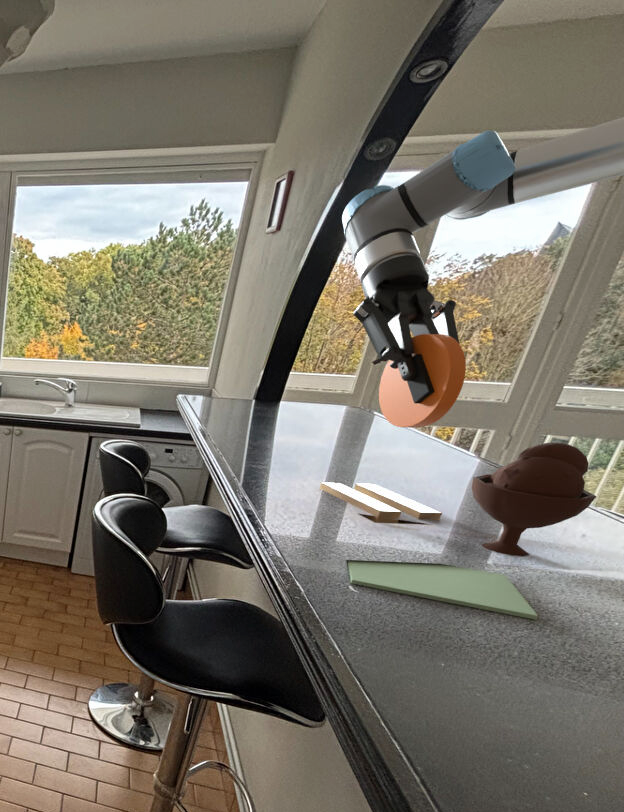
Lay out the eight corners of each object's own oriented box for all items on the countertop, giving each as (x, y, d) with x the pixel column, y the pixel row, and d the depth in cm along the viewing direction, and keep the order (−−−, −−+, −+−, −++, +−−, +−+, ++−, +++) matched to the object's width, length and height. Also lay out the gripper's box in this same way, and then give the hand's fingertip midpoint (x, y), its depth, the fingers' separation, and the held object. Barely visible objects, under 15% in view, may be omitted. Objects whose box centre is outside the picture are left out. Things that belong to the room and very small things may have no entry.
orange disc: (381, 418, 93) (409, 331, 88) (444, 436, 81) (480, 337, 76) (368, 417, 93) (395, 331, 88) (428, 436, 81) (464, 337, 76)
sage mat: (503, 578, 71) (505, 574, 71) (536, 620, 62) (538, 616, 61) (343, 550, 79) (344, 546, 79) (351, 583, 69) (352, 579, 69)
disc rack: (370, 498, 100) (375, 484, 99) (437, 529, 87) (443, 513, 86) (315, 496, 101) (320, 482, 100) (373, 527, 87) (378, 510, 86)
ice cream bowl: (451, 533, 85) (491, 430, 80) (562, 555, 78) (614, 444, 72) (443, 553, 78) (486, 441, 73) (563, 579, 71) (622, 458, 65)
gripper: (424, 292, 94) (470, 415, 85) (325, 291, 95) (359, 412, 86) (462, 252, 87) (517, 381, 78) (355, 252, 88) (396, 379, 79)
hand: (434, 397), depth 82 cm, fingers closed on orange disc, 2 cm apart
